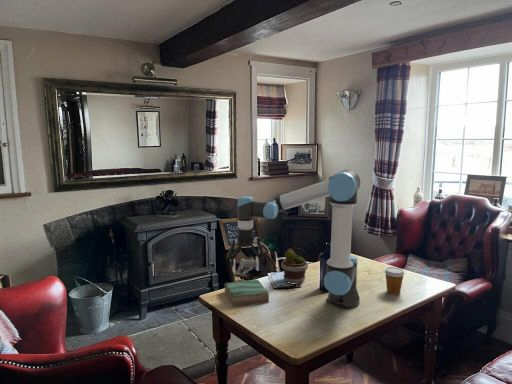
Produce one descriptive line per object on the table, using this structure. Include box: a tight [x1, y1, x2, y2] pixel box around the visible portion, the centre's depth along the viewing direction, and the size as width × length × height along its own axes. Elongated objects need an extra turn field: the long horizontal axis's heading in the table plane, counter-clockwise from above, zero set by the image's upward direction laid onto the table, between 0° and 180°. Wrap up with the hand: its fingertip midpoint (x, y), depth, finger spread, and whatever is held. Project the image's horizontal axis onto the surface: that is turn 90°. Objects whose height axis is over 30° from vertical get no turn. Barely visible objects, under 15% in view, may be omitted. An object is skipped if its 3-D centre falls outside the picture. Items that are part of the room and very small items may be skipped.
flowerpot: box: [280, 248, 309, 285], centre depth 208 cm, size 14×15×20 cm
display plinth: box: [224, 278, 270, 308], centre depth 189 cm, size 18×18×5 cm
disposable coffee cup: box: [384, 266, 405, 296], centre depth 194 cm, size 10×10×12 cm
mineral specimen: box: [234, 258, 257, 276], centre depth 186 cm, size 10×8×10 cm
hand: (245, 270), depth 188 cm, fingers closed on mineral specimen, 11 cm apart
